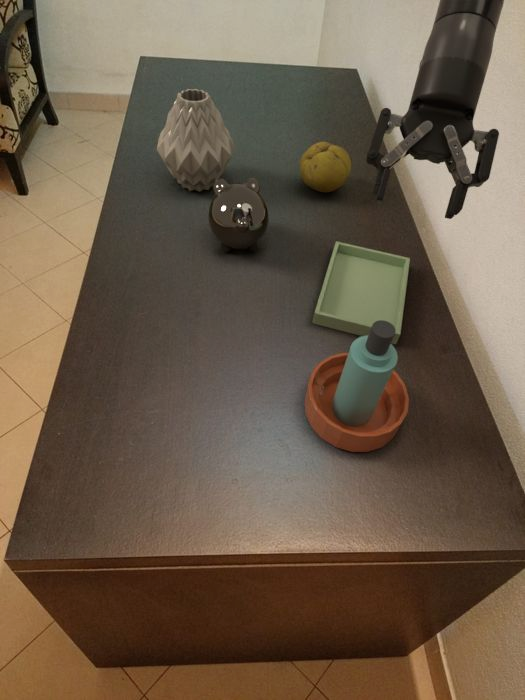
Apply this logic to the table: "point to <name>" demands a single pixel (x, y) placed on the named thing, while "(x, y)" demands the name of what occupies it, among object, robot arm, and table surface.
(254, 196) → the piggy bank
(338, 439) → the bowl
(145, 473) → the table surface
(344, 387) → the bottle
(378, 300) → the tray
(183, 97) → the vase
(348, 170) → the fruit
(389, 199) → the table surface
